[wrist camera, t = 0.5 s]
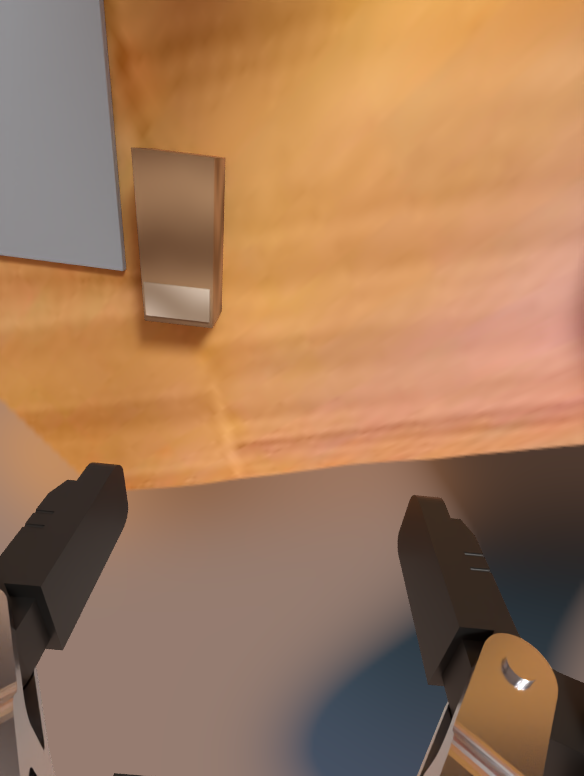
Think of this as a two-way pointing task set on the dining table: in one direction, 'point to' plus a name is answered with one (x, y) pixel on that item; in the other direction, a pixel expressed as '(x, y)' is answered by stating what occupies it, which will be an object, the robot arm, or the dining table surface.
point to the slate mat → (58, 135)
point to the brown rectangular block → (180, 234)
